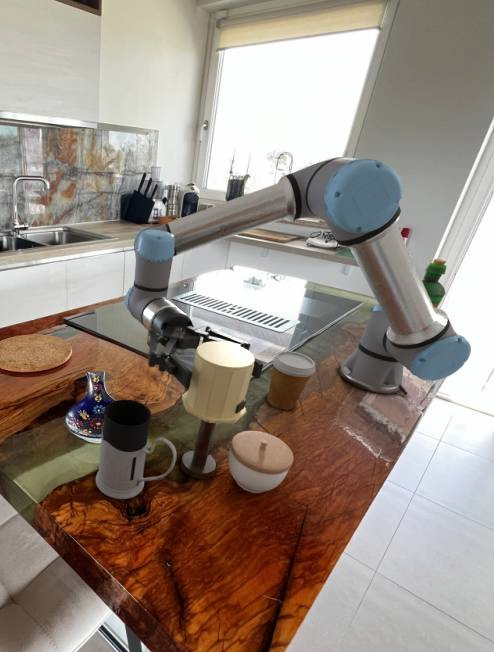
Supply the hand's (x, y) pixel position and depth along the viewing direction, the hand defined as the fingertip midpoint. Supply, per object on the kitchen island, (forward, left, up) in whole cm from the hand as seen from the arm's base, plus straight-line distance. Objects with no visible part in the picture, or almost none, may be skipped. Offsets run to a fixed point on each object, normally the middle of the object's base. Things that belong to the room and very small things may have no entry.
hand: (225, 376), depth 67 cm
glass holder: (+6, +13, -21) cm, 26 cm away
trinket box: (-8, -5, -21) cm, 23 cm away
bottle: (-12, -107, -21) cm, 110 cm away
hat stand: (+1, 0, -21) cm, 21 cm away
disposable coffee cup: (0, -36, -21) cm, 42 cm away
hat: (+1, 0, -6) cm, 7 cm away
